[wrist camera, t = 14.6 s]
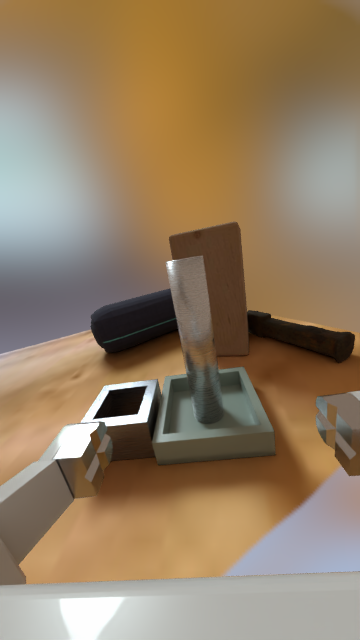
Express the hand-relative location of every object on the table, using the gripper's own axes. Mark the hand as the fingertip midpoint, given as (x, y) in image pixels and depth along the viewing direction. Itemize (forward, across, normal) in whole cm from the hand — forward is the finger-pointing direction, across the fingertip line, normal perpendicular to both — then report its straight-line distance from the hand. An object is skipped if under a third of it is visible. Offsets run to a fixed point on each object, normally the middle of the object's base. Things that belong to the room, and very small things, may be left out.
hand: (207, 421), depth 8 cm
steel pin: (+12, 0, +10) cm, 16 cm away
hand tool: (+27, -14, +11) cm, 32 cm away
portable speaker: (+39, +11, +11) cm, 42 cm away
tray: (+12, 0, +11) cm, 16 cm away
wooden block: (+30, -4, +11) cm, 32 cm away
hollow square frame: (+11, +9, +11) cm, 18 cm away
